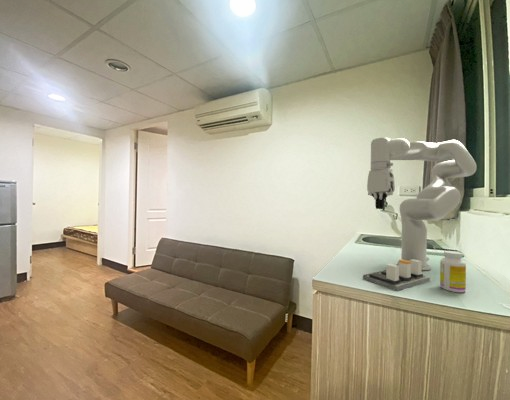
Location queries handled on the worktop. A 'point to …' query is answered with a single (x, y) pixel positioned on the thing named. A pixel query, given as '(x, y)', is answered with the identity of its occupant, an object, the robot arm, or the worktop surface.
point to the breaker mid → (405, 268)
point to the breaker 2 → (416, 267)
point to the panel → (396, 285)
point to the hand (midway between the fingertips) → (379, 208)
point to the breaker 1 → (392, 272)
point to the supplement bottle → (453, 272)
